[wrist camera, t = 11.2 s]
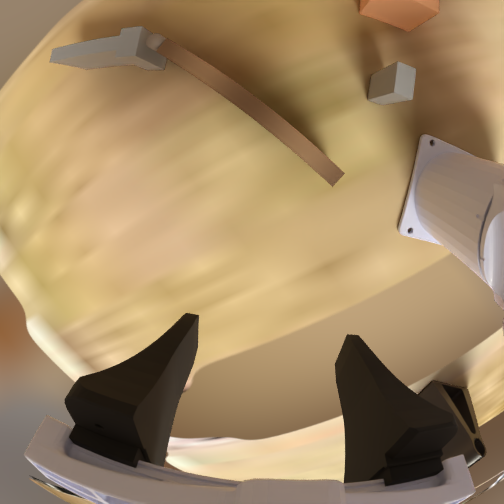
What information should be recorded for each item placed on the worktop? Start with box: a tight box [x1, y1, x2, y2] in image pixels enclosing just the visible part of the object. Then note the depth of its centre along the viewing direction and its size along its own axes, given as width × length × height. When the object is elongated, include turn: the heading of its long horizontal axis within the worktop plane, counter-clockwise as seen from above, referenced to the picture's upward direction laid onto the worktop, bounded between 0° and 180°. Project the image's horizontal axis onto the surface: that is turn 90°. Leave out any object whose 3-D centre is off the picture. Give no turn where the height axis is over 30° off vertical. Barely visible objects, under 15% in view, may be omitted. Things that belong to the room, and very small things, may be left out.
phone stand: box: [419, 380, 486, 468], centre depth 23 cm, size 9×6×12 cm, turn 66°
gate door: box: [146, 33, 345, 187], centre depth 15 cm, size 14×1×4 cm, turn 51°
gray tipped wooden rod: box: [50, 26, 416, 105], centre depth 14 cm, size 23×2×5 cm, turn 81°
